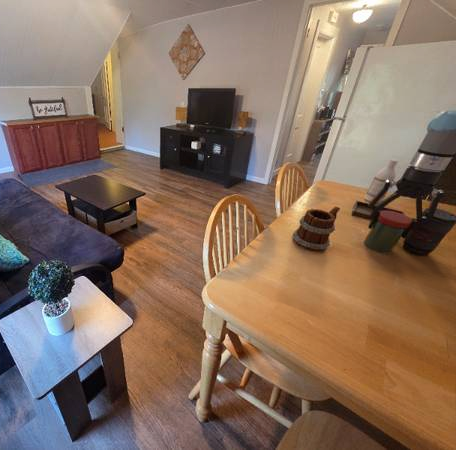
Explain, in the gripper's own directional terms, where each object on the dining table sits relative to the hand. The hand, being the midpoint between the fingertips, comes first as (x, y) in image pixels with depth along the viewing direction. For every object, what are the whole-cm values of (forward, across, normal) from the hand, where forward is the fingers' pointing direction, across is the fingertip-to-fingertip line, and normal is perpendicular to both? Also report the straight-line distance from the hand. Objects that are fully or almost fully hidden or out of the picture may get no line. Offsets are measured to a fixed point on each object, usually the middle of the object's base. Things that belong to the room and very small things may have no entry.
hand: (386, 231), depth 84 cm
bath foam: (+6, -3, +46) cm, 47 cm away
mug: (+7, -19, -12) cm, 23 cm away
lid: (-6, 0, 0) cm, 6 cm away
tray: (+6, -1, +28) cm, 29 cm away
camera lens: (+6, +10, +5) cm, 13 cm away
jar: (+6, 0, 0) cm, 6 cm away
